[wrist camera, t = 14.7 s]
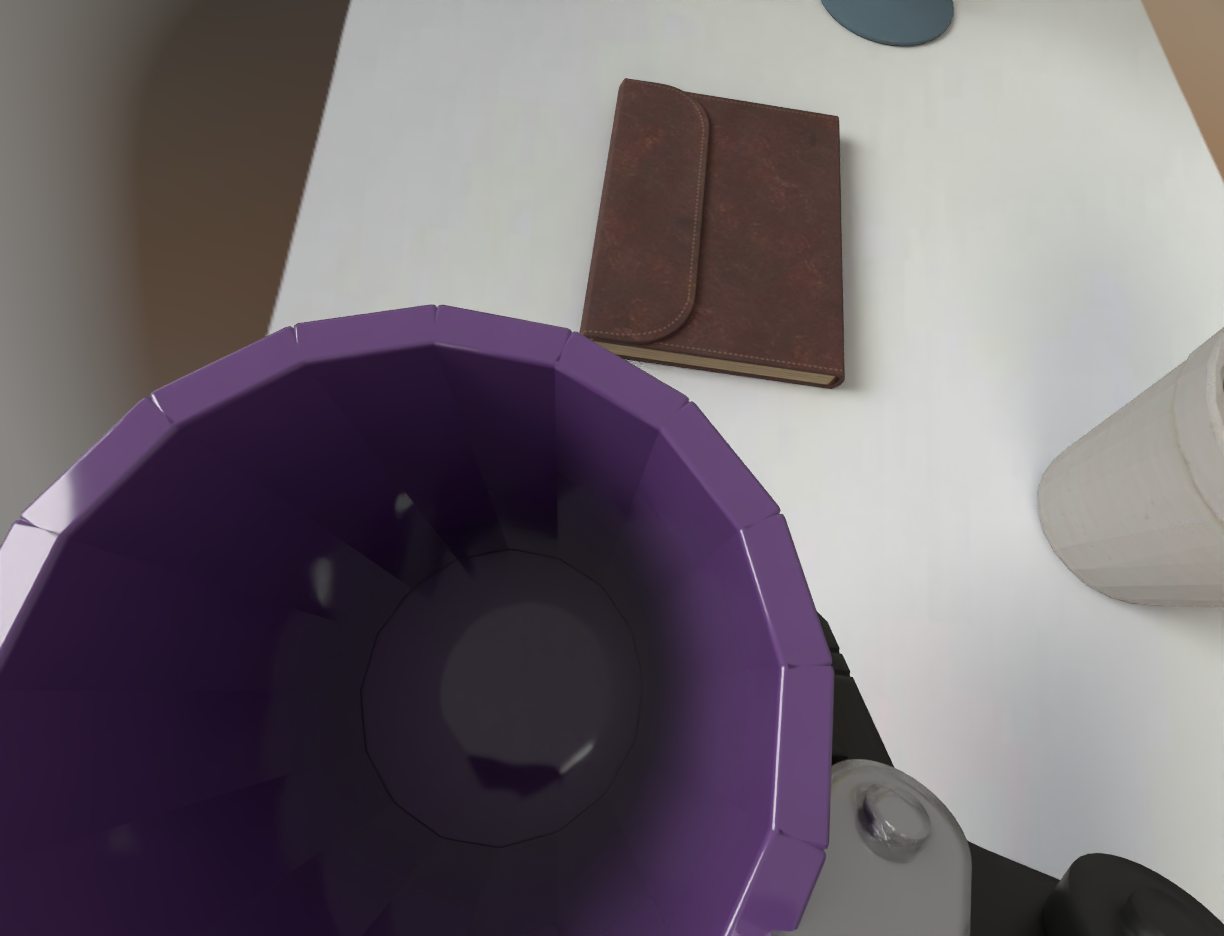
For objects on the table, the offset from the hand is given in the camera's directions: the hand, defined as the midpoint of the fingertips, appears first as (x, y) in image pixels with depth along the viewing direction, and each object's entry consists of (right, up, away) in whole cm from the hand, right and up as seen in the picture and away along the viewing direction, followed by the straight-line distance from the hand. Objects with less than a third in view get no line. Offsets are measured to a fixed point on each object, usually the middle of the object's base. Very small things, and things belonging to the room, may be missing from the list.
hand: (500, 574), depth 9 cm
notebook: (+8, +16, +29) cm, 34 cm away
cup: (0, -3, +4) cm, 5 cm away
